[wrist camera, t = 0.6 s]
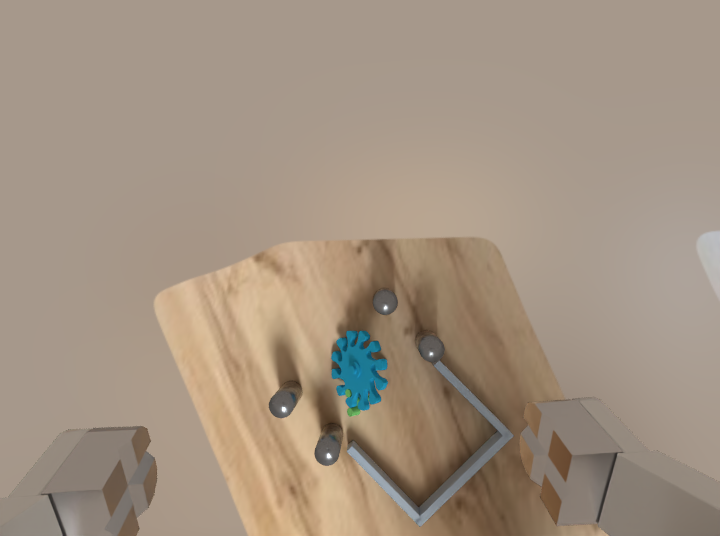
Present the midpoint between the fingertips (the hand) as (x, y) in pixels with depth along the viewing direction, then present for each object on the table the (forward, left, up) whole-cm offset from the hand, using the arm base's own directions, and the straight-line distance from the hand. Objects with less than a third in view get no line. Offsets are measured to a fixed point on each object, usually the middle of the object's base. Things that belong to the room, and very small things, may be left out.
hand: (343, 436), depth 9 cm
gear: (-5, +8, -48) cm, 49 cm away
